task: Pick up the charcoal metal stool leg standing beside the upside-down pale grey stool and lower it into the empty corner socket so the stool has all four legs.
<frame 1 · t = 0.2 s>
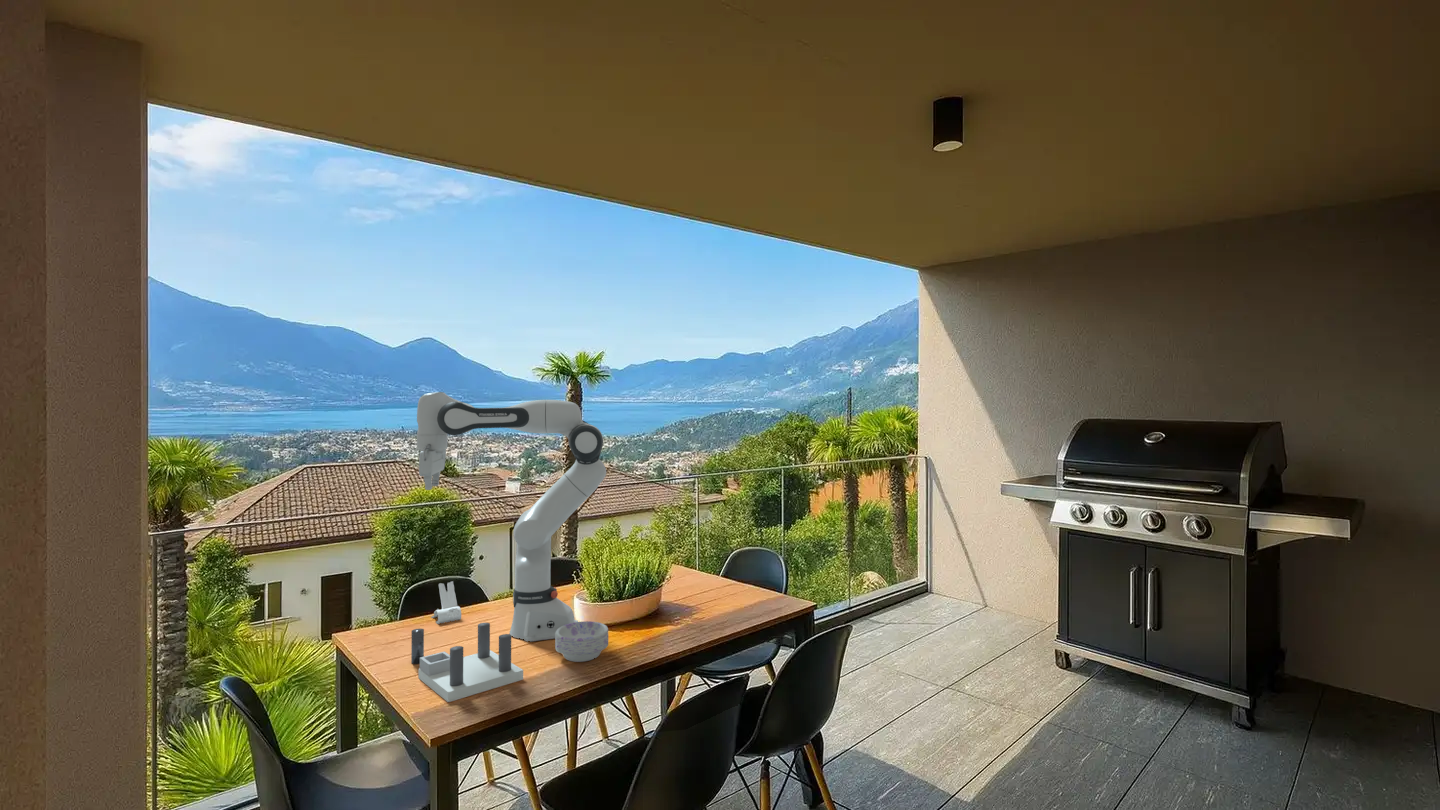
hand: (432, 487, 208), 47 cm above the table, tool pointing down, fingers open, 8 cm apart
stool seat: (470, 678, 177), on the table
paper bowls: (582, 657, 193), on the table
plastic part: (445, 620, 227), on the table
stool leg: (417, 661, 189), on the table
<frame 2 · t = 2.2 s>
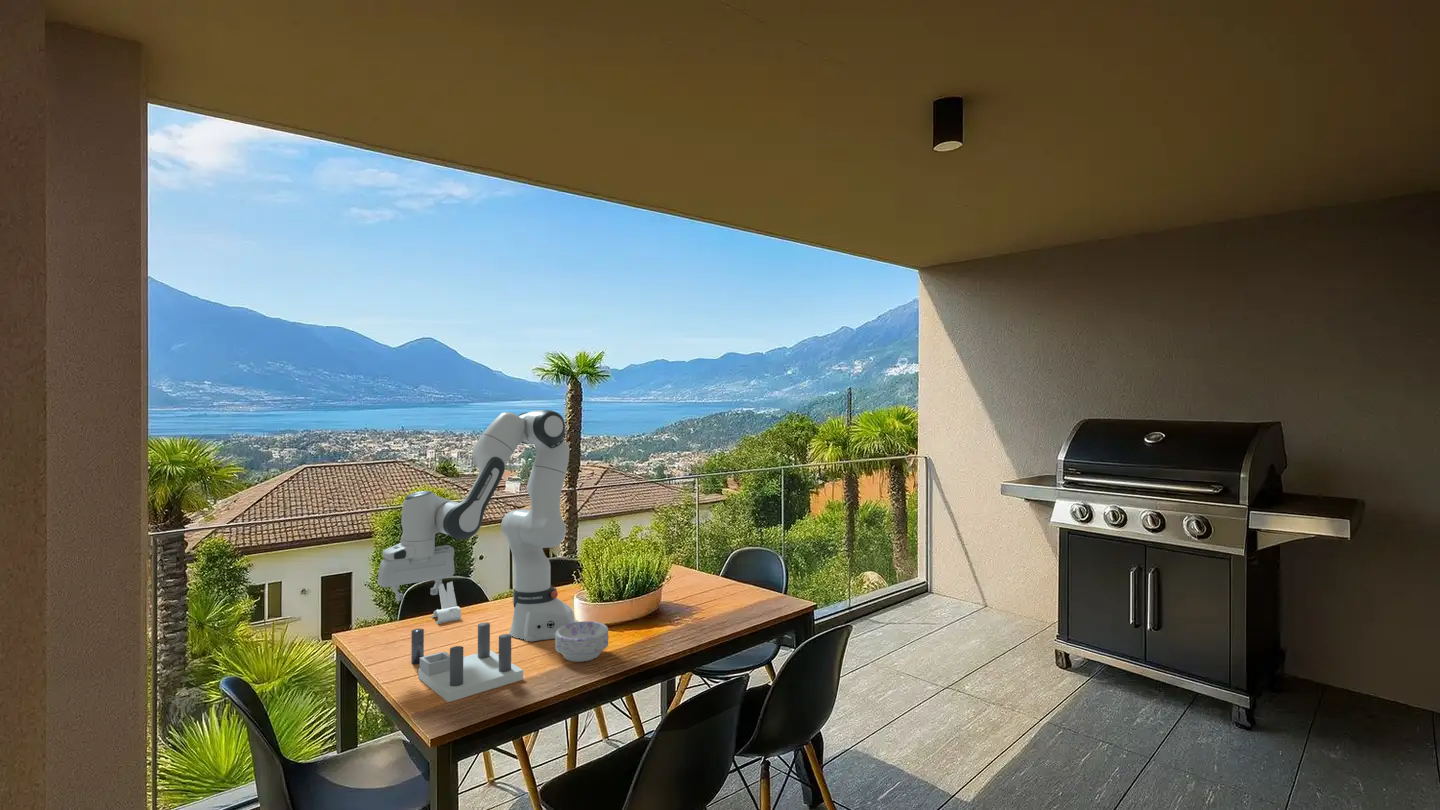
hand: (417, 597, 189), 18 cm above the table, tool pointing down, fingers open, 8 cm apart
nothing on the table moved.
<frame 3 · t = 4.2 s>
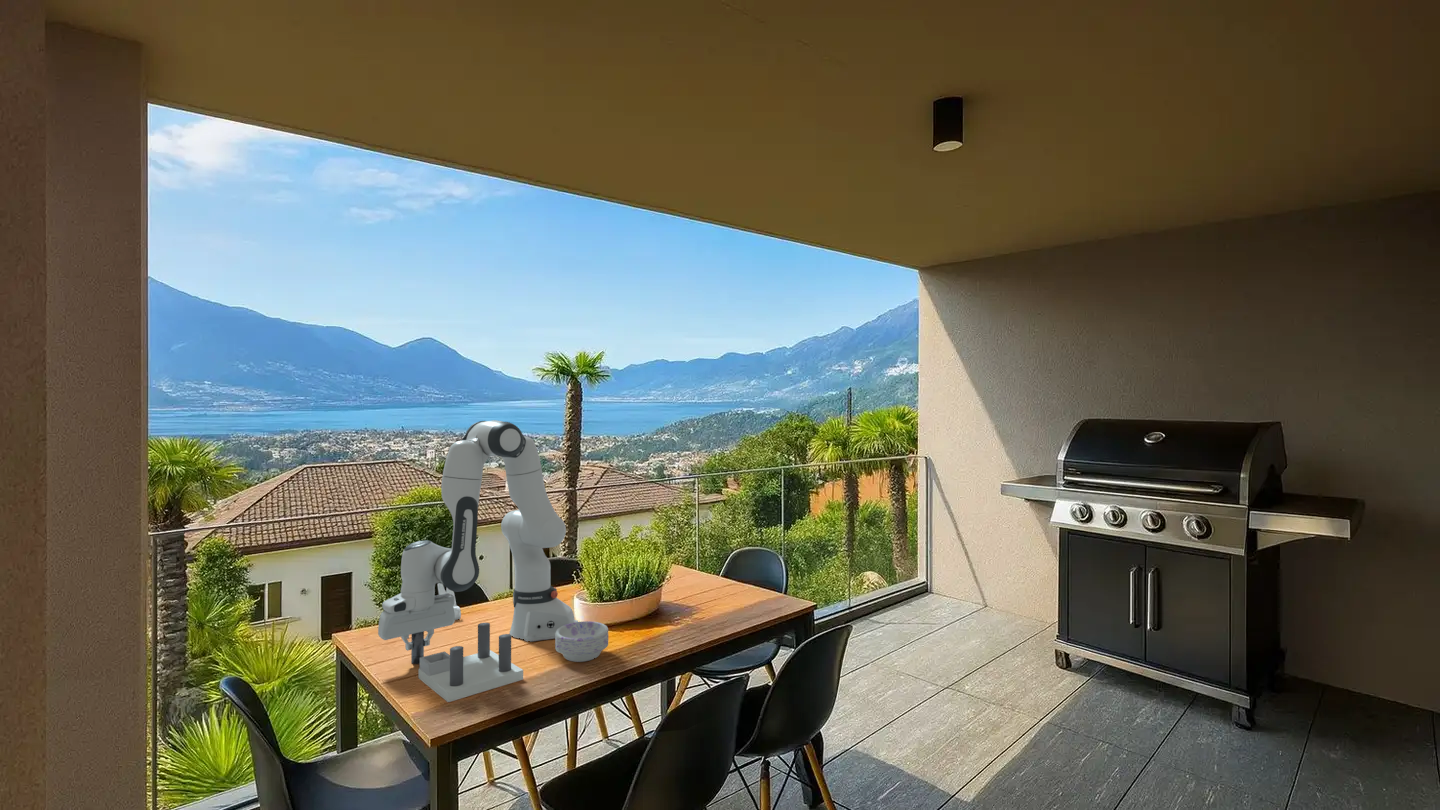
hand: (417, 647, 189), 4 cm above the table, tool pointing down, fingers closed on stool leg, 3 cm apart
stool leg: (417, 661, 189), on the table, touching gripper
everything else where it was.
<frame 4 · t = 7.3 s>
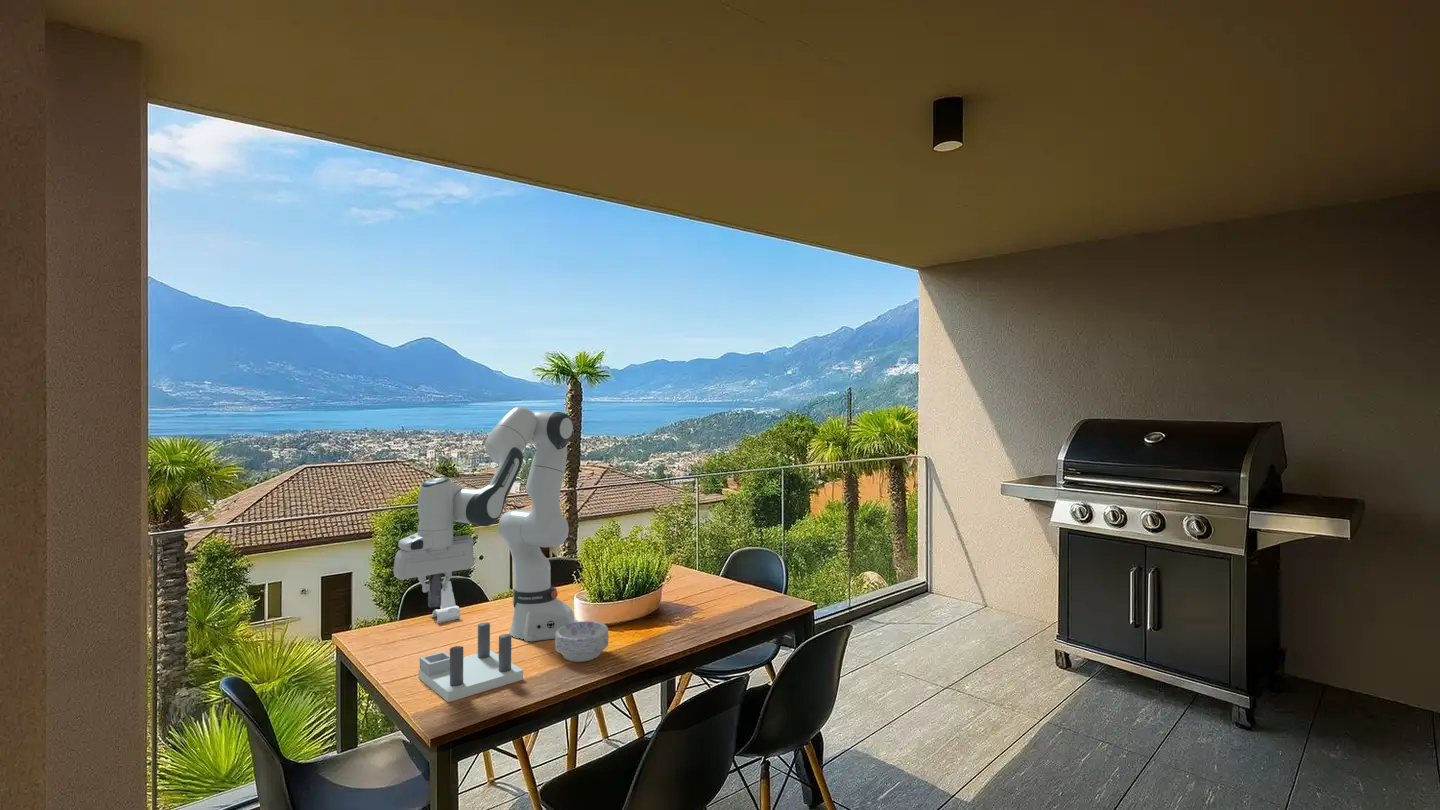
hand: (434, 590, 178), 23 cm above the table, tool pointing down, fingers closed on stool leg, 3 cm apart
stool leg: (434, 605, 178), point 19 cm above the table, touching gripper
everything else where it was.
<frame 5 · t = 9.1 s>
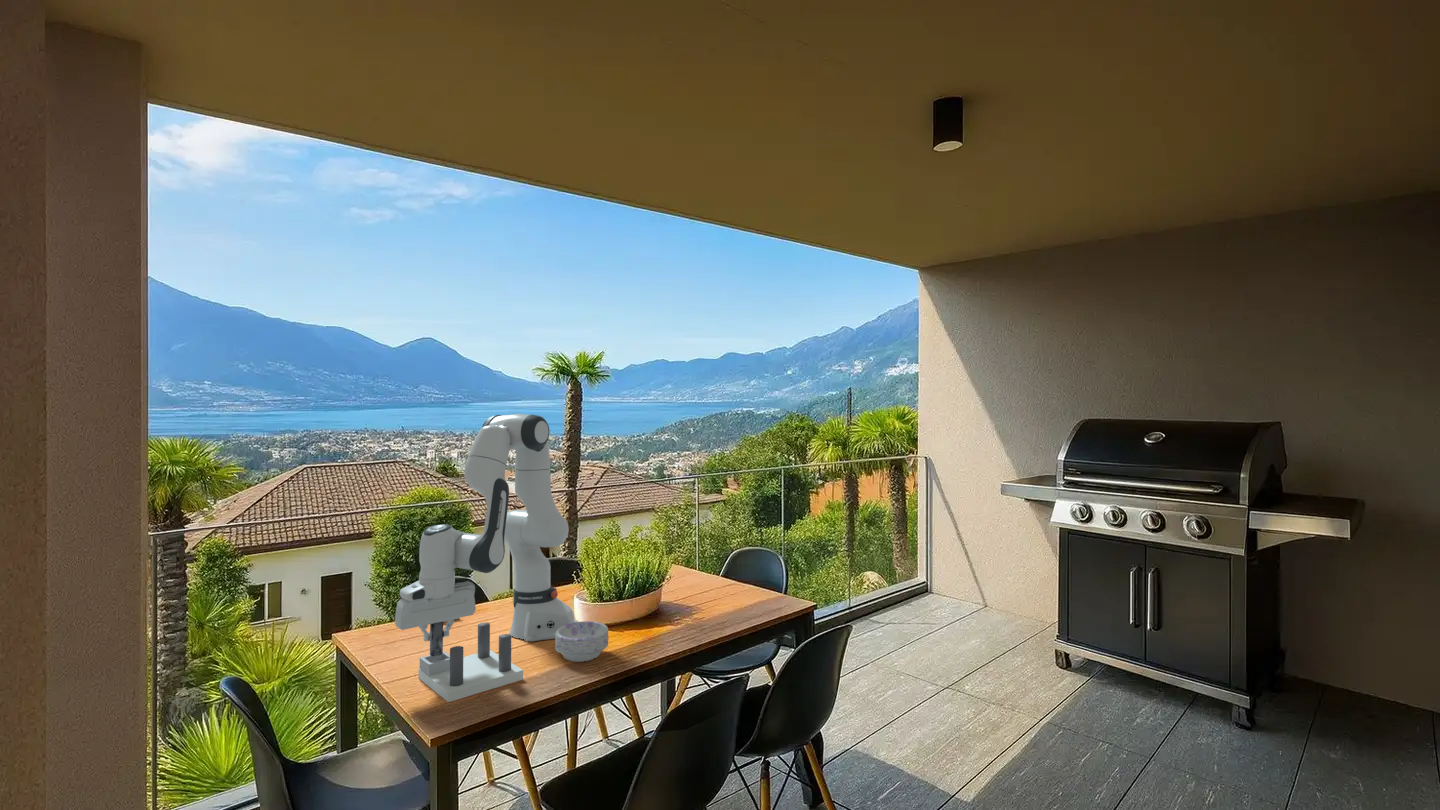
hand: (436, 638, 177), 11 cm above the table, tool pointing down, fingers closed on stool leg, 3 cm apart
stool leg: (436, 653, 177), point 7 cm above the table, touching gripper
when the fingers open (8 cm above the table, at t = 10.3 s): stool leg drops 1 cm, resting on stool seat.
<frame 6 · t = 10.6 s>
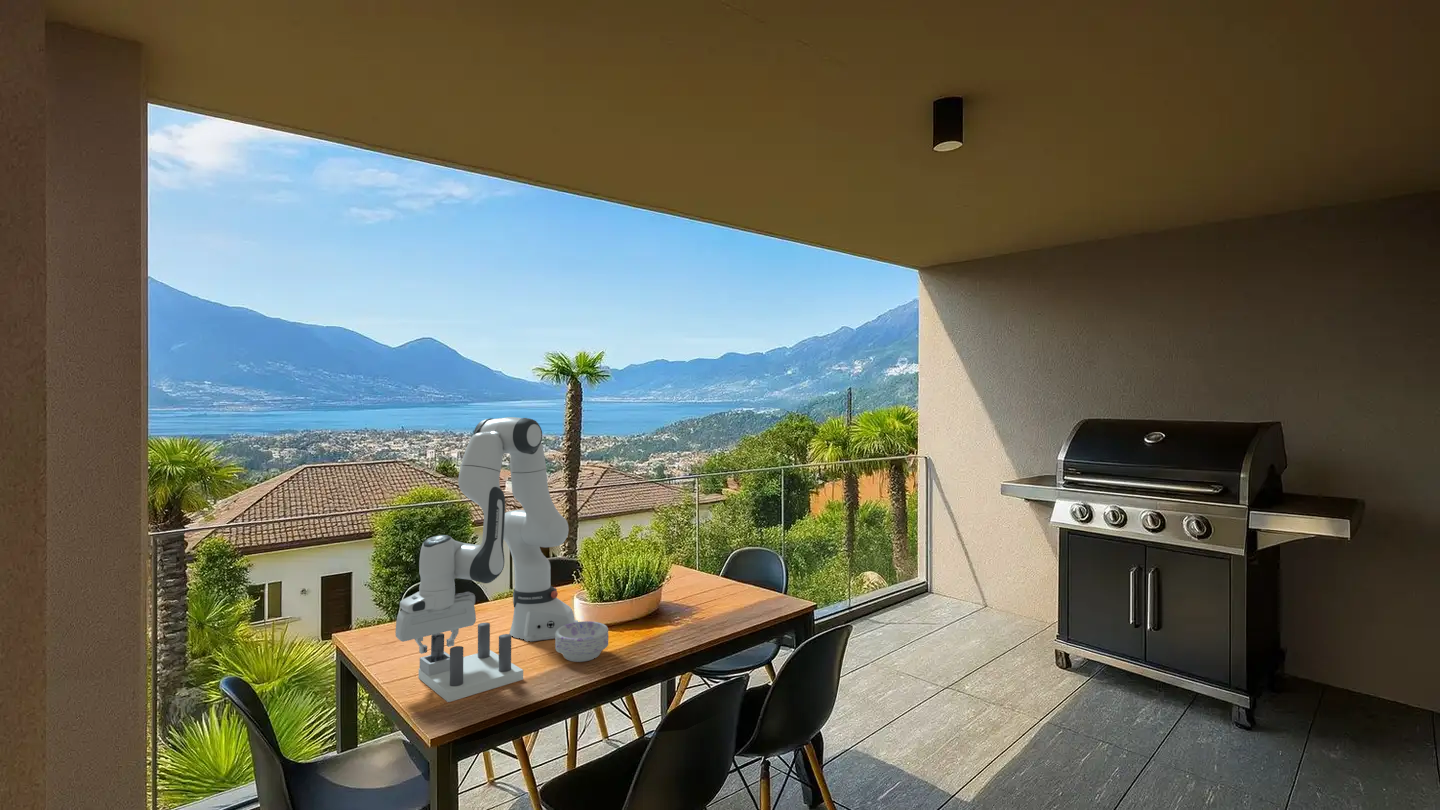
hand: (437, 649, 177), 8 cm above the table, tool pointing down, fingers open, 6 cm apart
stool leg: (437, 668, 177), point 3 cm above the table, touching stool seat
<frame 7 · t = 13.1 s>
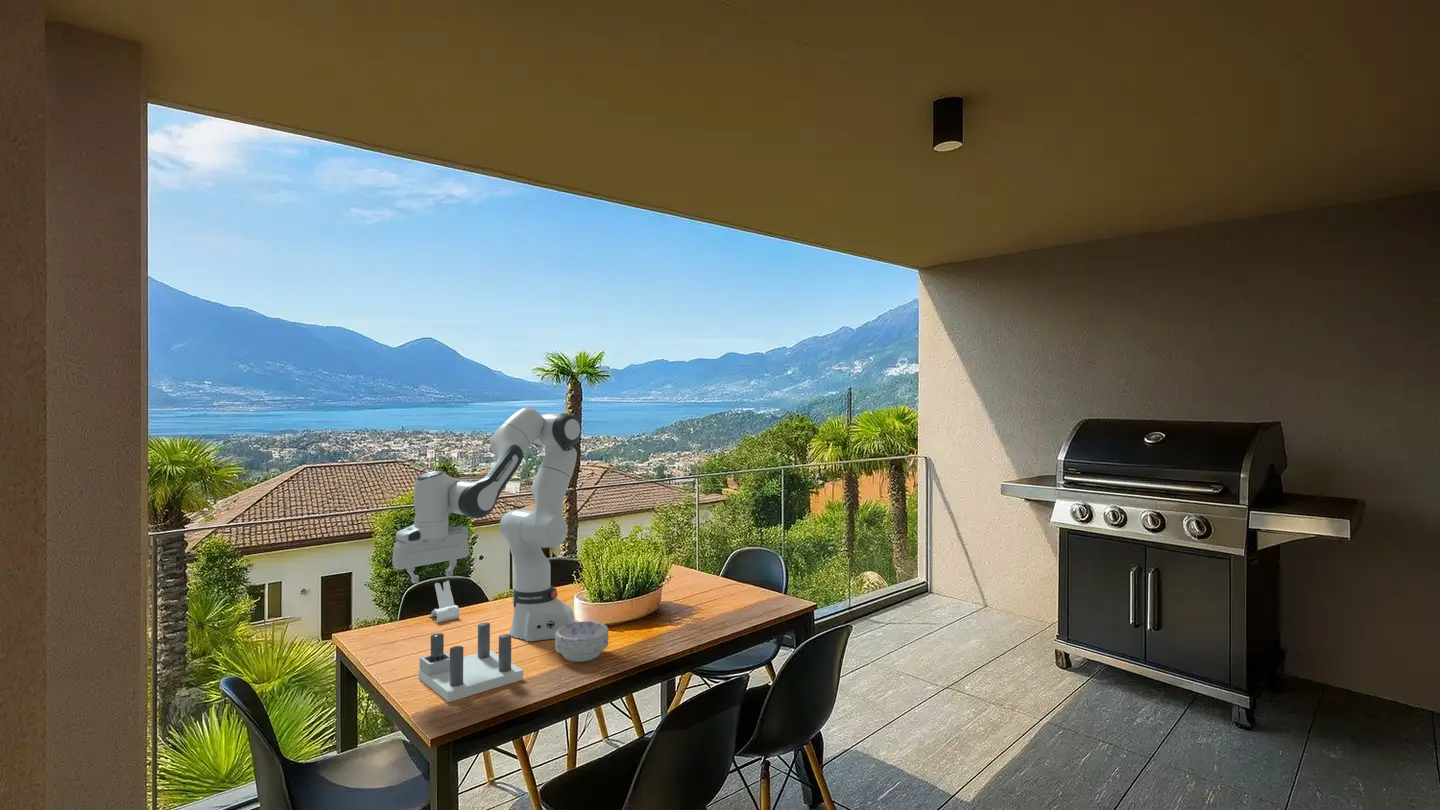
hand: (432, 578, 186), 24 cm above the table, tool pointing down, fingers open, 8 cm apart
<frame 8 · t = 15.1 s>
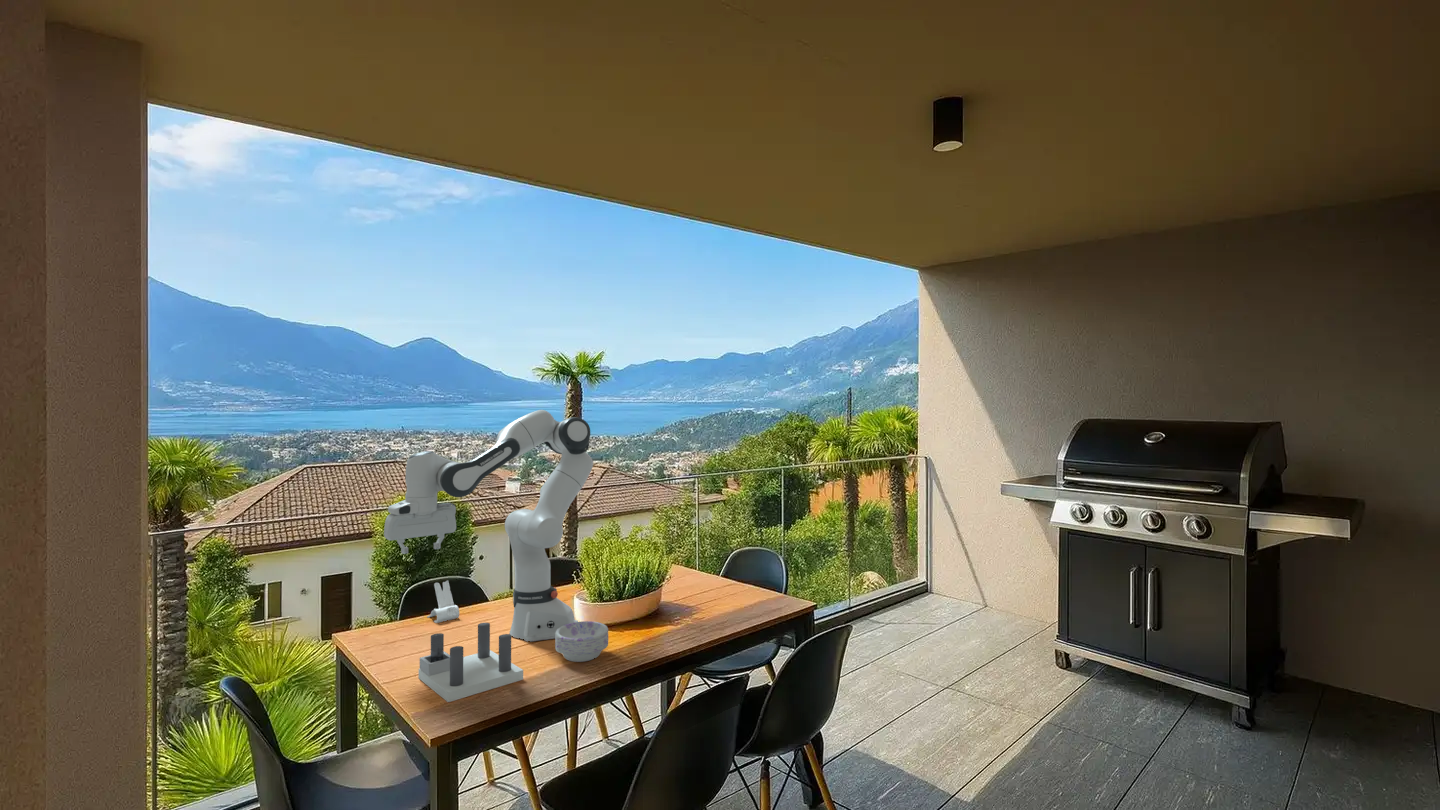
hand: (421, 551, 200), 29 cm above the table, tool pointing down, fingers open, 8 cm apart
at the end: stool leg 0.1 cm from the target spot on the stool seat, point 2.5 cm above the stool seat's base; stool leg tilted 0°; the gripper is holding nothing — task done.
